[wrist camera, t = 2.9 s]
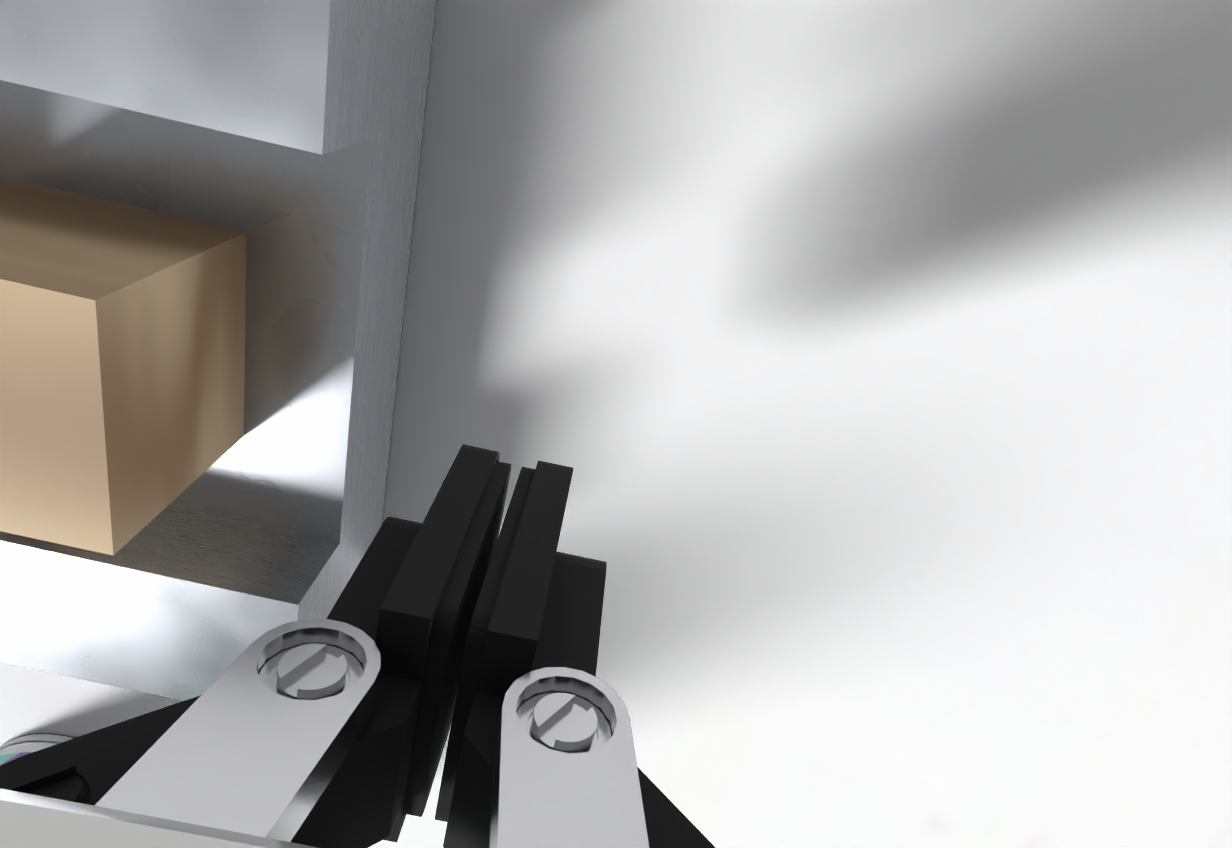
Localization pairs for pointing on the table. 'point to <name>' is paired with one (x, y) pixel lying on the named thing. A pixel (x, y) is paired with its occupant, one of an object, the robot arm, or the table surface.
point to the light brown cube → (112, 362)
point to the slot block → (275, 302)
